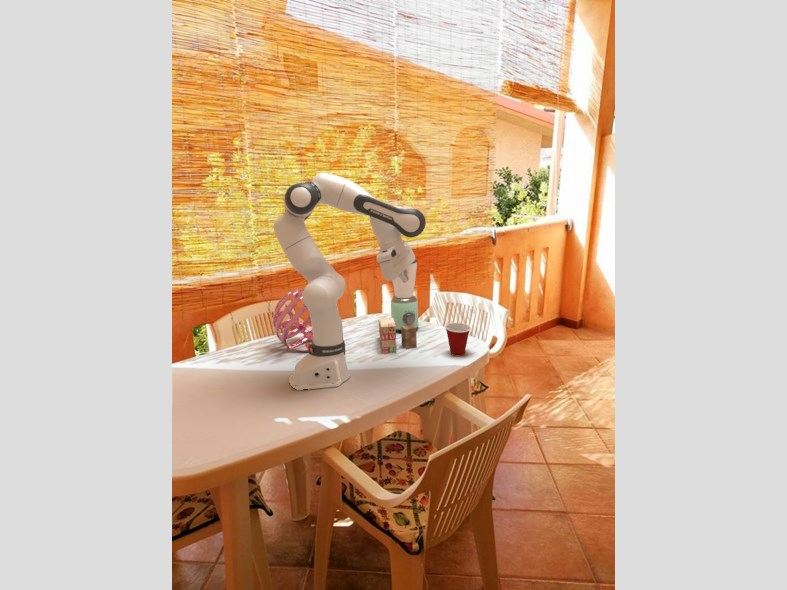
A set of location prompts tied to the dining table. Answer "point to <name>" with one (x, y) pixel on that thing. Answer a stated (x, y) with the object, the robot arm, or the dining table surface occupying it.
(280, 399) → the dining table surface
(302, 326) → the spiral basket
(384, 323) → the stack of blocks
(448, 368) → the dining table surface
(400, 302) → the green blender
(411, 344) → the walnut block
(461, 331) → the plastic cup
